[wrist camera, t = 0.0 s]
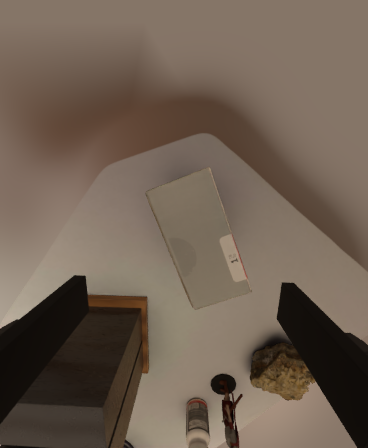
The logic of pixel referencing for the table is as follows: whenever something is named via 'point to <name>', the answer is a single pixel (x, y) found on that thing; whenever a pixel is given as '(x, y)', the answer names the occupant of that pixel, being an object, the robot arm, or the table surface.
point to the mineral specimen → (281, 371)
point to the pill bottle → (197, 424)
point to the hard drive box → (199, 238)
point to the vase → (127, 445)
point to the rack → (86, 382)
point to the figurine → (227, 406)
